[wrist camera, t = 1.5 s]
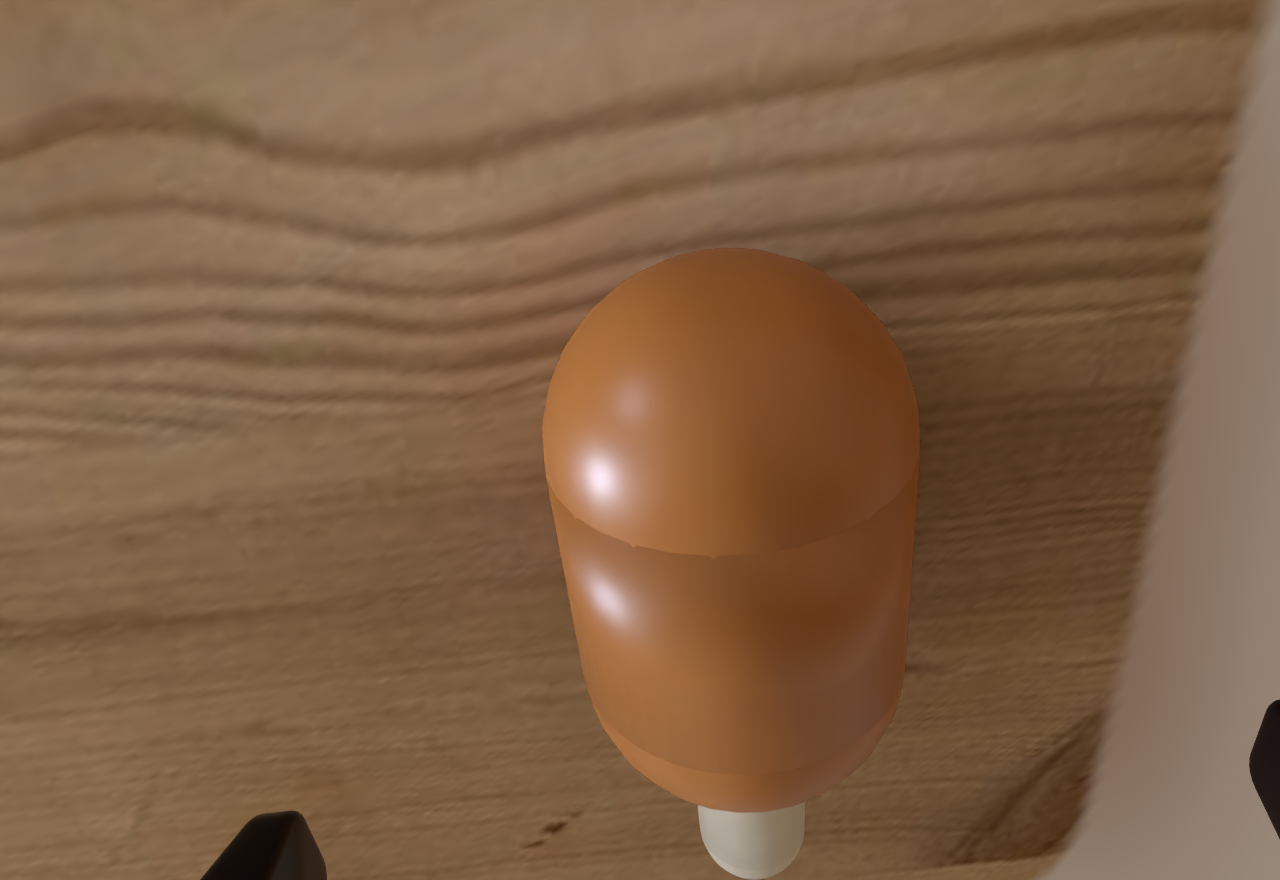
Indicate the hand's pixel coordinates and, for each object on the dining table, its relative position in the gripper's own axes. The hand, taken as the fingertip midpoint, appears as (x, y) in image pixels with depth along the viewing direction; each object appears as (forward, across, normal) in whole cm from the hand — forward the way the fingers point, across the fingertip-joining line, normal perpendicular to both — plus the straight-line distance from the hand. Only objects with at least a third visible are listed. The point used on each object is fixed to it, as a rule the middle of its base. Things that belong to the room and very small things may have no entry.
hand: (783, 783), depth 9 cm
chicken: (+6, 0, +1) cm, 6 cm away
